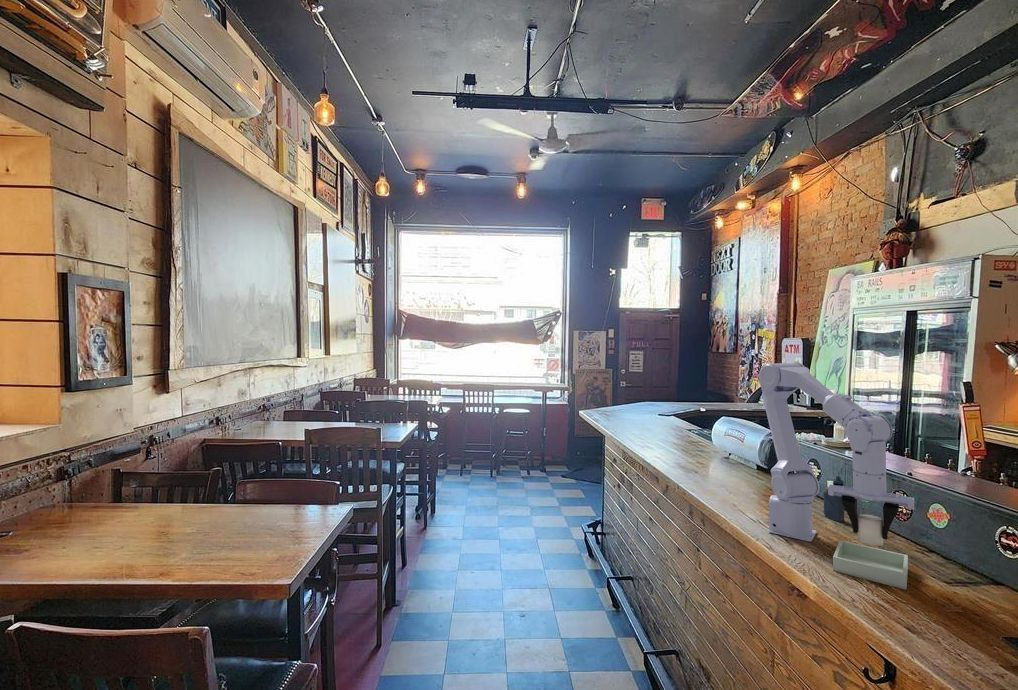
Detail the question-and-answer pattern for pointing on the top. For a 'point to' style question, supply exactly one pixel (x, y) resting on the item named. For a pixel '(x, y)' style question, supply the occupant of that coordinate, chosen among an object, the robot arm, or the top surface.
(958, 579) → the top surface
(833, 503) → the vaping device
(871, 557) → the bus tub
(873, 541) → the white rounded cylinder
